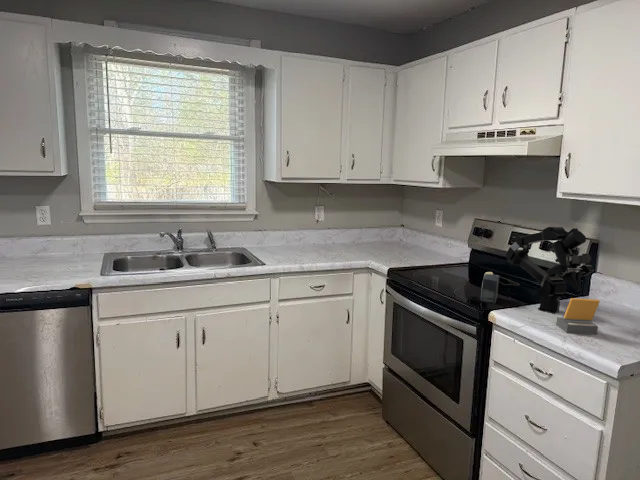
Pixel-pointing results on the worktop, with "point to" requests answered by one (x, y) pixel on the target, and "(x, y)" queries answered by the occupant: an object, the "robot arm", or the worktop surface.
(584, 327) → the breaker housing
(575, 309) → the orange square tile
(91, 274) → the worktop surface
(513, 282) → the cable
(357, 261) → the worktop surface
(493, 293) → the small box
